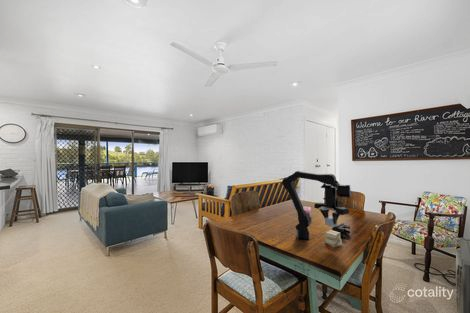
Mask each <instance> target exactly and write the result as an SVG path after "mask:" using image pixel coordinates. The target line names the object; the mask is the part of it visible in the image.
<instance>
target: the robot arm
mask: <svg viewBox="0 0 470 313" xmlns="http://www.w3.org/2000/svg"><path fill="white" fill-rule="evenodd" d="M298 179H304V180H305V179H306V180H311V181H317V182H320V183H322V185H321V186H320V188H321V189H324V197H323V198H322V199H323V200H324V202H314V206H313V207H314V209H317V210H318V209H319V211H320V213H321V214H322V216H323V218H324V219H325V218H326V217H329V212H330V211H334V212H332V213H331V214H332V215H331V217H333V222H334V224H336V222H337V223H338V219H339V217H340V216H344V215H349V214H350V209H349V208H348V207H344V206H343V204H344V202H343V201H340V200H339V199H338V197H339V198H349V199H350V198H352V190H351V185H350V184H345V185H344V184H340V182H339V181H338V180H337V176H335V174H333V173H321V174H320V173H313V172H306V171H300V170H296V171H295V172H293V173H292V174H291V175H289V176H288V177H285V178H283V179H282V181H281V184H282V186H283V187H284V189H285V191H287V192H288V194H289V197H290V199H291V201H292V203H293V207H294V208H295V211H296V213H297V221H298V223H297V224H296V225H295V226H294V227H295V229H296V235H295V238H297V240H298V241H309V240H310V231H309V227H310V225H311V224H312V223H313V222H312V221H313V220H312V219H313V218H312V217H311V214H310V212H306V211H305V208H304V206H303V204H302V202H301V199H300V197H299V194H298V192H297V191H296V183H295V182H297V181H298ZM337 196H338V197H337Z"/></svg>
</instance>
